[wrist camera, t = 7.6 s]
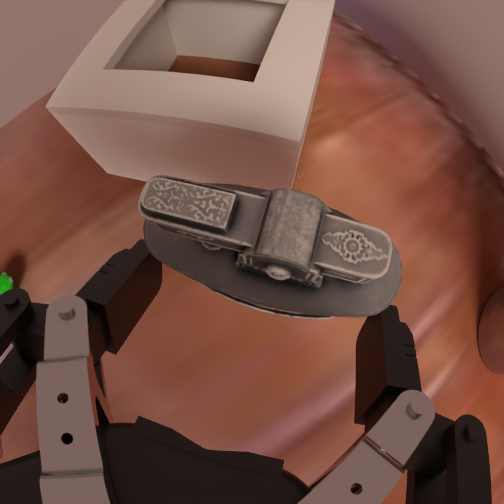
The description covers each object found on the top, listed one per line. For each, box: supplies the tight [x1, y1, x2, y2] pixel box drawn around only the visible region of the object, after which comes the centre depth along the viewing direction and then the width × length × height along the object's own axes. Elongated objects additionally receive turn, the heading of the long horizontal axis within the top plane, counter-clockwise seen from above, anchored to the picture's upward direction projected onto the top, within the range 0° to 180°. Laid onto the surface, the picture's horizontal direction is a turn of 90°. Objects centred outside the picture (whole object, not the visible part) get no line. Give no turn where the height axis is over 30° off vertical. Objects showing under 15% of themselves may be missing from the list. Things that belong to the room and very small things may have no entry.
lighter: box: [138, 175, 402, 320], centre depth 12 cm, size 8×3×10 cm, turn 74°
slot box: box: [45, 0, 335, 191], centre depth 24 cm, size 18×18×12 cm
